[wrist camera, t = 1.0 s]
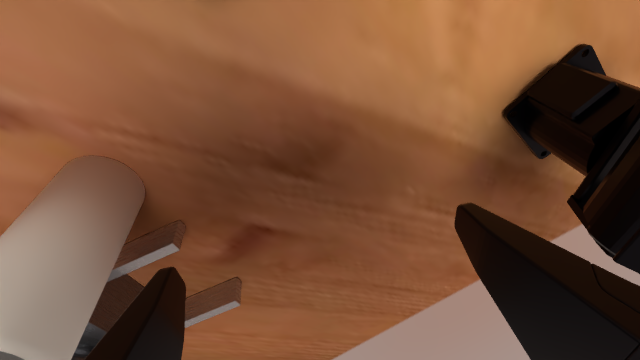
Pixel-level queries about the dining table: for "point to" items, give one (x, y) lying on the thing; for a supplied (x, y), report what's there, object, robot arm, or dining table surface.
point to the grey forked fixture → (125, 289)
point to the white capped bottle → (64, 256)
